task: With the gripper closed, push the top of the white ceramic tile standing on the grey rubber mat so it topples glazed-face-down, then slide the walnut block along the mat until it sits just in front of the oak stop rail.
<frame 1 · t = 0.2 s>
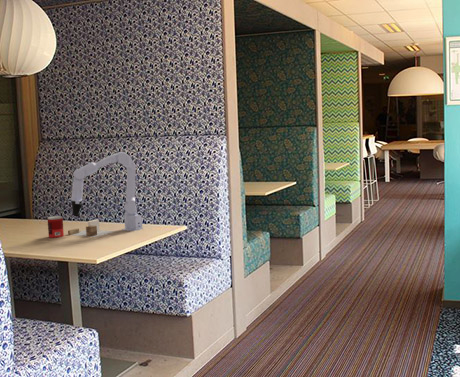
hand: (75, 215, 342), 10 cm above the table, tool pointing down, fingers open, 7 cm apart
rail: (73, 233, 342), resting on mat
mat: (91, 233, 342), on the table
canned food: (56, 237, 335), on the table
block: (91, 235, 335), resting on mat
tile: (94, 233, 342), resting on mat
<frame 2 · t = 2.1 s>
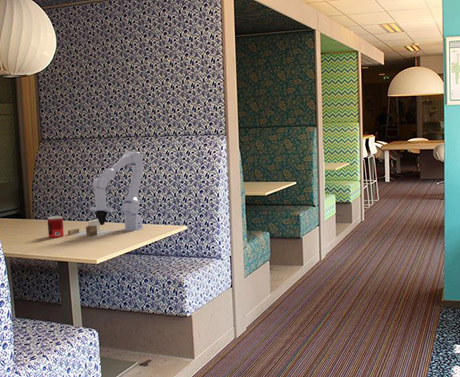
hand: (102, 224, 338), 5 cm above the table, tool pointing down, fingers closed
nothing on the table moved.
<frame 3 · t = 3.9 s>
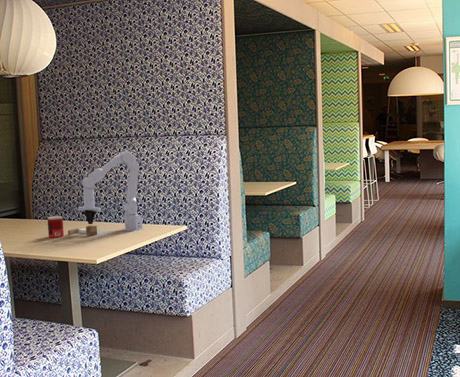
hand: (90, 223, 342), 5 cm above the table, tool pointing down, fingers closed
tile: (92, 231, 342), point 1 cm above the table, tilted 90°, touching mat
everything else where it was.
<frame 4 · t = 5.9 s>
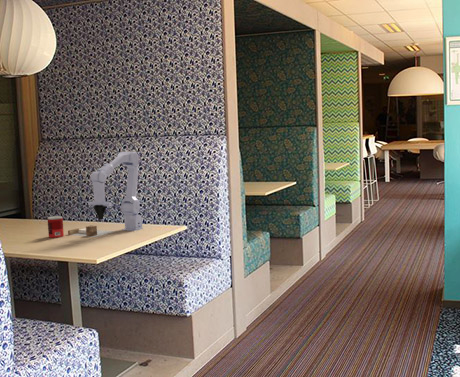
hand: (100, 219, 331), 9 cm above the table, tool pointing down, fingers closed
nothing on the table moved.
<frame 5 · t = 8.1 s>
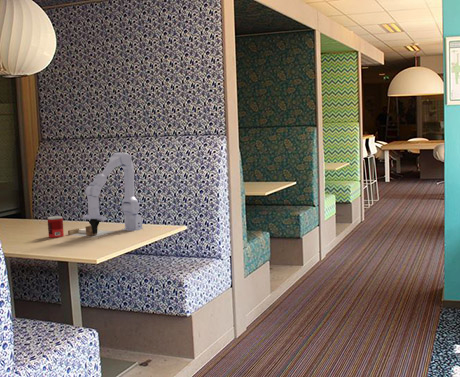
hand: (95, 233, 334), 2 cm above the table, tool pointing down, fingers closed, pressing on block
block: (91, 235, 335), point 1 cm above the table, touching gripper, mat
everything else where it was.
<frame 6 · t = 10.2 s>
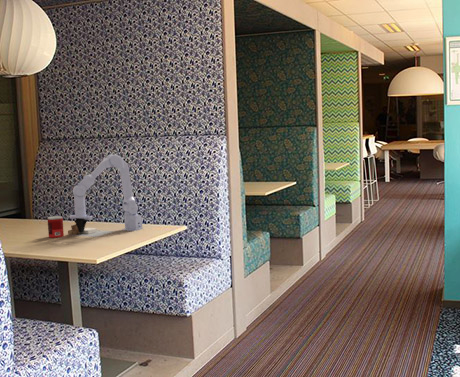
hand: (81, 232, 338), 2 cm above the table, tool pointing down, fingers closed
block: (78, 233, 340), point 1 cm above the table, tilted 16°, touching gripper, mat
everything else where it was.
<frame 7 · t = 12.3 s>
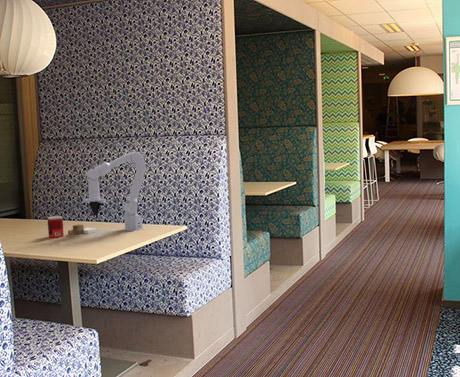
hand: (95, 215, 343), 10 cm above the table, tool pointing down, fingers closed
block: (78, 234, 340), resting on mat
everything else where it was.
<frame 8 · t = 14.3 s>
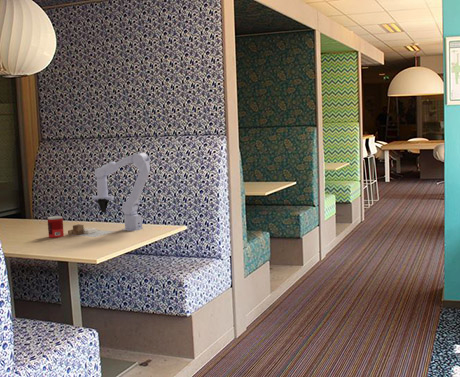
hand: (103, 212, 354), 10 cm above the table, tool pointing down, fingers closed
nothing on the table moved.
at the end: tile tilted 90°; tile inside the target area (1.6 cm from its centre), point 1.4 cm above the table; block 0.2 cm from the target spot, resting on mat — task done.
